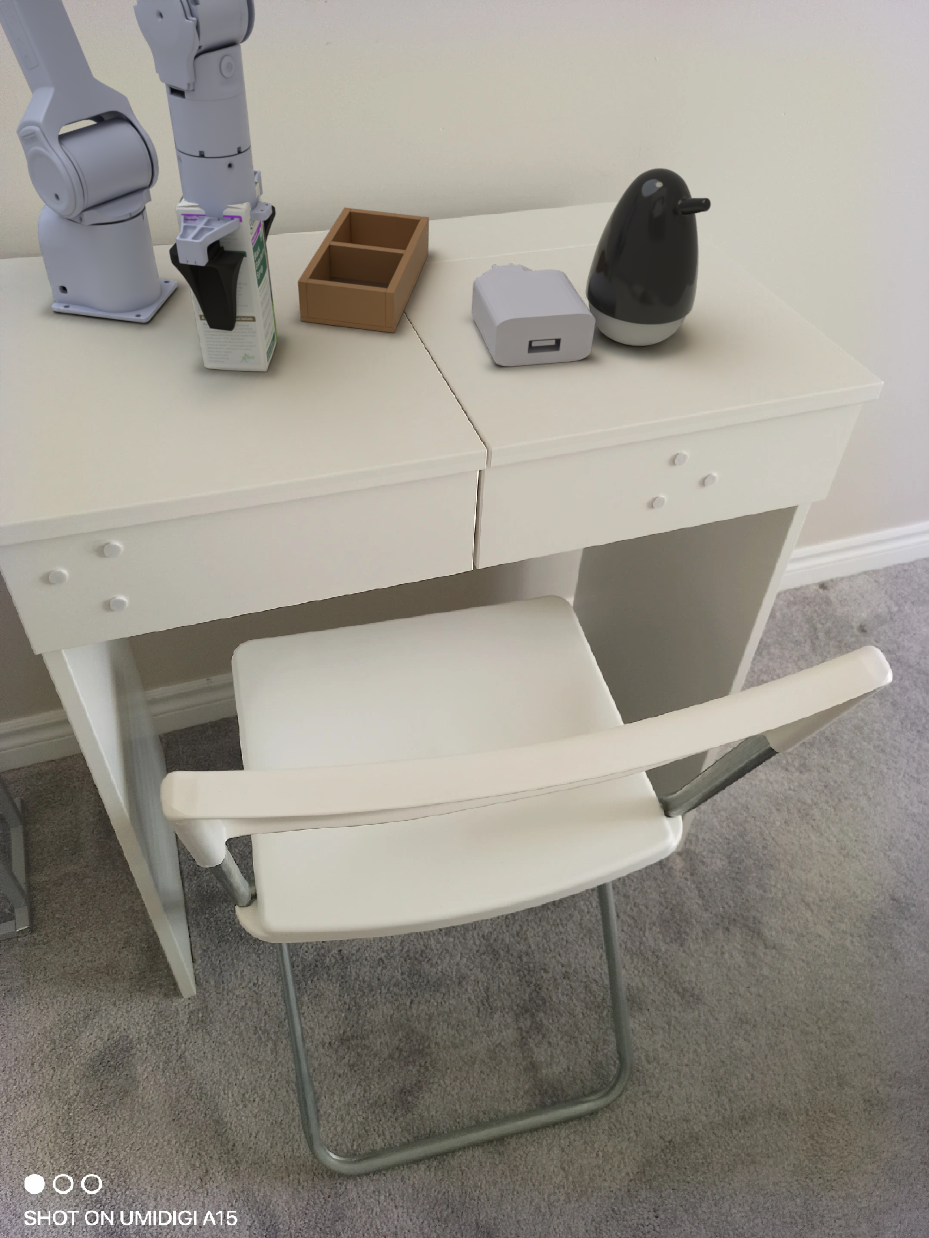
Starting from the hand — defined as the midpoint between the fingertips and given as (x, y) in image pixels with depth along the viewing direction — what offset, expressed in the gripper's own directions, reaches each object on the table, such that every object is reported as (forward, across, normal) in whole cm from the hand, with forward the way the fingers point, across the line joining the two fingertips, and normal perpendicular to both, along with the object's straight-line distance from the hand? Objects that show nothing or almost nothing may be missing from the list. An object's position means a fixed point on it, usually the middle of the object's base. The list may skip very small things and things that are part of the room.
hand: (234, 309), depth 83 cm
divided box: (+4, +16, -8) cm, 18 cm away
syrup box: (+5, 0, 0) cm, 5 cm away
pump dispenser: (+5, +13, -35) cm, 38 cm away
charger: (+5, +12, -24) cm, 27 cm away
